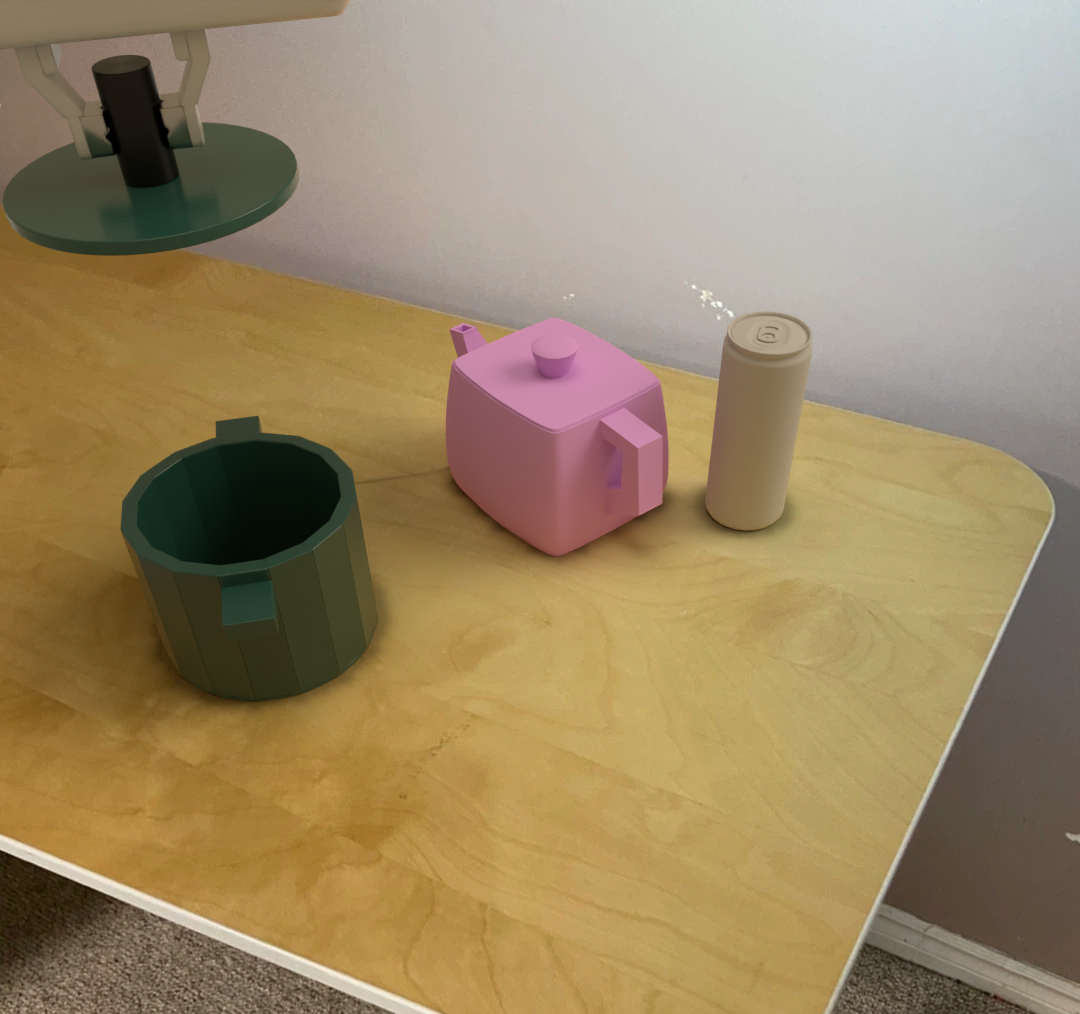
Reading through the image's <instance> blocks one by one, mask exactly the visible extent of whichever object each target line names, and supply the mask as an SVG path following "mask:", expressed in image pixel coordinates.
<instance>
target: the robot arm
mask: <svg viewBox="0 0 1080 1014" xmlns="http://www.w3.org/2000/svg"><path fill="white" fill-rule="evenodd" d="M350 2H351V0H0V50H9V49H14V51H15V54H16V58H17V59H18V60H17V61H18V63H19V66H20V69H21V72H22V75H23V78H24V79H25V80H26V81H27V82H28V83H29V84H30V85H31V87H32V88H34V90H35V91H37V93H38V94H39V95H40V96H41V97H42V98H43V99H44V100H45V101H46V102H47V103H48V105H49V106H51V107H52V108H53V109H54V110H55V111H56V112H57V113H58V114H59V116H61V117H62V119H64V120H65V119H66V120H67V123H68V127H69V130H70V133H71V135H72V139H73V142H75V145H76V149H77V152H78V155H79V157H80V158H81V160H83V159H93V158H100V157H107V156H115V155H116V151H115V148H114V144H113V141H112V137H111V135H110V131H109V128H108V124H107V120H106V117H105V114H104V110H103V107H102V104H101V101H100V100H91V101H86V100H85V99H84V98H83V97H82V96H81V95H80V94H79V92H78V91H77V90H76V89H75V88H74V87H73V86H72V84H71V83H70V81H68V79H66V78H65V77H64V75H63V74H62V72H60V70H59V69H60V64H61V60H62V55H63V52H62V50H61V47H60V44H69V43H78V42H90V41H98V40H99V41H100V40H110V39H119V38H130V37H139V36H149V35H150V36H151V35H161V34H169V37H170V41H171V45H172V49H173V52H174V56H175V60H177V61H178V62H185V61H186V62H185V67H184V70H183V75H182V78H181V82H180V86H179V89H178V91H175V92H170V93H162V94H159V96H160V100H161V103H160V111H161V115H162V119H163V123H164V126H165V127H166V128H167V129H168V130H167V138H168V142H169V146H170V148H171V150H173V149H183V148H193V147H202V146H205V137H204V131H203V125H202V122H203V121H202V117H201V112H200V108H199V100H200V98H201V94H202V90H203V87H204V83H205V80H206V77H207V74H208V70H209V67H210V64H211V60H212V58H211V57H212V56H211V41H210V35H209V31H208V30H212V29H220V28H221V29H222V28H231V27H240V26H249V25H252V26H253V25H259V24H271V23H281V22H282V23H283V22H291V21H303V20H311V19H320V18H330V17H331V18H332V17H338V16H340V15H342V14H343V13H344V12H345V11H346V10H347V7H348V6H349V4H350Z"/></svg>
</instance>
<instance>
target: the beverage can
mask: <svg viewBox="0 0 1080 1014" xmlns="http://www.w3.org/2000/svg"><path fill="white" fill-rule="evenodd" d="M812 341H813V332H812V329H811V327H810V326H809V325H808V324H807V323H806V322H805V321H803V320H802V319H801V318H799V317H796V316H794V315H791V314H788V313H784V312H780V311H770V310H763V311H753V312H747V313H744V314H742V315H739V316H737V317H736V318H734V319H733V320H731V321H730V323H729V324H728V326H727V329H726V335H725V336H724V338H723V343H722V350H721V351H722V352H721V361H720V367H719V368H720V369H719V376H718V385H717V394H716V402H715V410H714V411H715V412H714V421H713V430H712V438H711V445H710V455H709V465H708V473H707V481H706V490H705V499H704V505H705V508H706V511H707V512H708V514H709V515H710V516H711V518H712V519H713V520H715V522H717V523H718V524H720V525H722V526H724V527H726V528H729V529H732V530H736V531H747V532H748V531H758V530H762V529H766V528H767V527H769V526H772V525H773V524H774V523H775V522H777V521H778V520H779V519H780V518H781V517H782V515H783V512H784V510H785V503H786V498H787V493H788V487H789V483H790V482H789V481H790V475H791V470H792V464H793V459H794V453H795V448H796V442H797V438H798V437H797V436H798V432H799V426H800V422H801V421H800V420H801V415H802V410H803V404H804V400H805V395H806V394H805V393H806V388H807V383H808V379H809V378H808V377H809V373H810V366H811V360H812V355H813V343H812Z"/></svg>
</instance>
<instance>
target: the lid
mask: <svg viewBox="0 0 1080 1014" xmlns="http://www.w3.org/2000/svg"><path fill="white" fill-rule="evenodd" d="M90 69H91V73H92V76H93V80H94V83H95V87H96V89H97V90H96V91H97V94H98V98H99V101H101V104H102V107H103V110H104V114H105V117H106V120H107V124H108V128H109V131H110V135H111V137H112V141H113V144H114V148H115V151H116V155H115V156H107V157H100V158H93V159H83V160H81V158H80V157H79V155H78V152H77V149H76V145H75V142H74V141H73V142H71V143H68V144H66V145H63V146H61V147H58V148H55V149H53V150H50V152H47V153H45V154H43V155H41V156H39V157H38V158H36V159H35V160H33V161H31V162H29V163H28V164H27V165H25V166H24V167H23V168H21V169H20V170H19V171H18V172H17V173H16V174H15V175H14V176H12V178H11V179H10V180H9V182H8V183H7V185H6V186H5V189H4V191H3V193H2V202H1V203H2V207H3V211H4V214H5V217H6V219H7V222H8V223H9V225H10V226H11V228H12V229H13V230H14V231H15V232H16V233H17V234H18V235H19V236H21V237H22V238H23V239H25V240H27V241H29V242H31V243H33V244H35V245H37V246H40V247H43V248H46V249H50V250H54V251H58V252H64V253H69V254H74V255H75V254H76V255H85V256H99V257H100V256H101V257H102V256H104V257H105V256H107V257H108V256H109V257H114V256H117V257H118V256H138V255H149V254H156V253H164V252H170V251H176V250H180V249H185V248H190V247H195V246H198V245H203V244H206V243H209V242H214V241H216V240H220V239H223V238H225V237H228V236H231V235H233V234H236V233H238V232H241V231H243V230H246V229H248V228H249V227H252V226H254V225H256V224H257V223H259V222H261V221H262V222H263V220H265V219H267V218H268V217H270V216H271V215H273V214H275V213H276V212H277V211H278V210H279V209H281V208H282V207H283V206H284V205H286V203H287V202H288V201H289V200H290V199H291V198H292V196H293V195H294V194H295V192H296V190H297V188H298V184H299V180H300V170H299V166H298V160H297V158H296V155H295V153H294V151H293V150H292V149H291V148H290V146H288V145H287V144H286V143H285V142H284V141H282V140H281V139H279V138H277V137H276V136H274V135H272V134H270V133H267V132H265V131H262V130H258V129H254V128H252V127H248V126H247V127H246V126H241V125H237V124H229V123H222V122H221V123H220V122H210V121H209V122H208V121H207V122H205V121H202V125H203V131H204V137H205V146H202V147H193V148H183V149H173V150H171V148H170V146H169V142H168V138H167V130H168V129H167V128H166V127H165V126H164V123H163V119H162V115H161V111H160V103H161V100H160V93H159V89H158V84H157V81H156V77H155V73H154V69H153V66H152V62H151V60H150V58H148V57H146V56H144V55H139V54H121V55H120V54H119V55H114V56H109V57H105V58H102V59H100V60H98V61H97V62H95V63H93V64H92V65H91V68H90Z"/></svg>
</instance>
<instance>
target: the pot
mask: <svg viewBox="0 0 1080 1014" xmlns="http://www.w3.org/2000/svg"><path fill="white" fill-rule="evenodd" d="M214 425H215V437H212V438H209V439H206V440H203V441H201V442H198V443H195V444H193V445H190V446H187V447H184V448H182V449H179V450H176V451H173V452H172V453H170V454H169V455H167V456H166V457H164V458H163V459H162V460H160V461H159V462H158V463H156V464H154V466H152V467H150V468H148V470H146V471H145V472H143V473H142V474H140V475H139V477H138V478H137V480H135V482H134V484H133V485H132V487H131V488H130V490H129V491H128V493H126V495H125V496H124V498H123V499H122V502H121V512H120V513H121V514H120V527H119V528H120V529H119V530H120V533H121V536H122V538H123V541H124V543H125V546H126V548H127V552H128V554H129V558H130V559H131V562H132V564H133V568H134V571H135V572H136V575H137V578H138V581H139V583H140V586H141V589H142V591H143V595H144V597H145V599H146V602H147V604H148V607H149V610H150V613H151V615H152V618H153V620H154V624H155V626H156V629H157V631H158V634H159V636H160V639H161V642H162V644H163V648H164V650H165V652H166V654H167V656H168V657H169V659H170V661H171V662H172V664H173V666H174V668H175V669H176V671H177V672H178V674H180V675H181V677H182V678H184V680H186V681H187V682H188V684H191V685H192V686H194V687H195V688H197V689H198V690H201V691H203V692H205V693H207V694H209V695H212V696H216V697H218V698H223V699H228V700H234V701H242V702H266V701H275V700H282V699H287V698H292V697H295V696H299V695H302V694H304V693H308V692H310V691H313V690H315V689H318V688H321V687H323V686H324V685H326V684H328V683H330V682H331V681H333V680H335V679H337V678H339V676H341V675H342V674H344V673H345V672H346V671H348V670H349V668H351V667H352V666H353V665H354V664H356V662H357V661H359V659H360V658H361V657H362V656H363V655H364V653H365V652H366V650H367V649H368V648H369V647H370V644H371V642H372V639H373V638H374V635H375V632H376V628H377V622H378V618H379V617H378V611H377V605H376V599H375V594H374V593H375V592H374V588H373V582H372V577H371V576H372V575H371V570H370V564H369V558H368V551H367V548H366V547H367V546H366V541H365V535H364V530H363V524H362V518H361V517H362V516H361V512H360V507H359V500H358V494H357V489H356V483H355V477H354V472H353V470H352V468H351V467H350V466H349V465H348V464H347V463H346V462H345V461H344V460H343V459H342V457H340V455H338V454H337V453H336V452H335V451H334V450H333V449H332V448H331V447H328V446H326V445H323V444H321V443H318V442H316V441H313V440H311V439H307V438H305V437H302V436H300V435H293V434H283V433H274V432H263V427H262V424H261V419H260V416H259V415H252V416H245V417H237V418H230V419H221V420H216V421H215V424H214Z"/></svg>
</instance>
